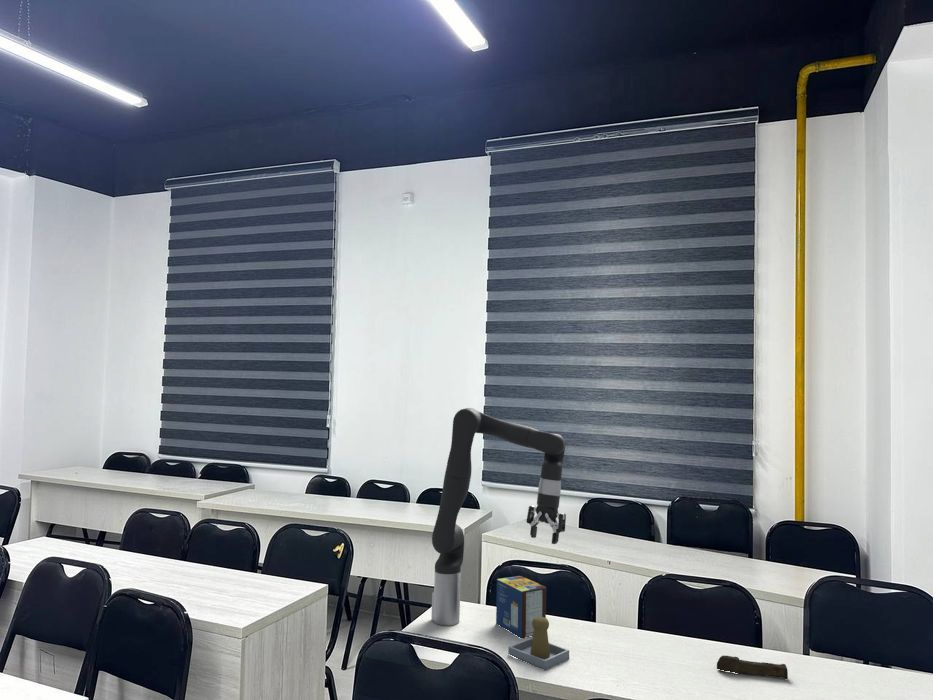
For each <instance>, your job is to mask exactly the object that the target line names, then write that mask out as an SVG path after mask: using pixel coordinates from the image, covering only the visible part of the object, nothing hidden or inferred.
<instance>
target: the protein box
mask: <svg viewBox="0 0 933 700" xmlns="http://www.w3.org/2000/svg"><path fill="white" fill-rule="evenodd" d="M495 601H496V604H495V605H496V611H495V613H496V615H495V625H497V624H498V625H500V626H501V627H500V626H499V627H500V628H502V627H503V628H505V629H507V630H509V631H510V632H512V633H513V634H515V635H517V636H518V637H520V638H523V639H526V638H525V637H528V638H530V637H529V636H532V637H533V631H534V628H533V626H532V621H533V619H534V618H535V617H544V618H546V619H547V614H546V613H547V587H546V586H545V585H542V584H540V583H538V582H536V581H533V580H531V579H529V578H527V577H524V576H522V575H516V576H515V575H514V576H509V577H502V578H497V579H496V600H495ZM498 625H497V626H498ZM503 628H502V629H503ZM505 629H504V630H505ZM507 630H506V631H507ZM510 632H509V633H510ZM512 633H511V634H512ZM513 634H512V635H513ZM515 635H514V636H515ZM517 636H516V637H517ZM518 637H517V638H518ZM520 638H519V639H520Z"/></svg>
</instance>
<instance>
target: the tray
mask: <svg viewBox="0 0 933 700" xmlns="http://www.w3.org/2000/svg"><path fill="white" fill-rule="evenodd" d="M532 638H533V636H532V637H528V638H526V639H524V640H522V641H521V642H517V643H514V644H512V645H510V646H508V654H510V655H512V656H514V657H516V658H518V659H520V660H522V661H521V662H523V661H525V662H527V663H526V664H528V663H529V664H528V665H530V664H531V665H530V666H532V667H535V668H538V669H540V670H543V671H548V670H549V669H551V668H554V667H555V666H558V665H560V664H562V663H564V662H566V661H568V660H570V650H569V649H567V648H564V647H562V646H559V645H557V644H553V643H551V642H549V651H550V657H549V658H547V659H541V658H538V657H536V656H533V655H531V654H530V652H531V645H532ZM518 659H517V660H518ZM520 660H519V661H520ZM525 662H524V663H525Z"/></svg>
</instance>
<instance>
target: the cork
mask: <svg viewBox="0 0 933 700" xmlns="http://www.w3.org/2000/svg"><path fill="white" fill-rule="evenodd" d="M549 622H550V621H549V620H548V618H547V617H546V618H544V617H535V618H534V619H533V621H532V626H533V628H534V631H533V636H532V637H533V638H532V637H531V638H532V645H531V652H530V654H531V655H533V656H536V657H538V658H541V659H547V658H549V657H550V651H549V643H550V642H549V635H548V630H549V627H550V623H549Z"/></svg>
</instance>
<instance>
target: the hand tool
mask: <svg viewBox="0 0 933 700" xmlns="http://www.w3.org/2000/svg"><path fill="white" fill-rule="evenodd" d="M717 669H720V670H724V671H730V672H735V673H739V674H749V675H758V676H765V677H771V676H772V677H771V678H776V677H778V678H781V679H784V680H785V679H787V680H788V679H789V676H788V675H789V671H788V667H787V664H785V663H780V664H779V663H778V664H777V663H772V662H759V661H758V662H757V661H750V660H744V659H740V658H739V657H738V656H731V655H721V656H720V657H719V658H718V660H717V662H716V670H717Z"/></svg>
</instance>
